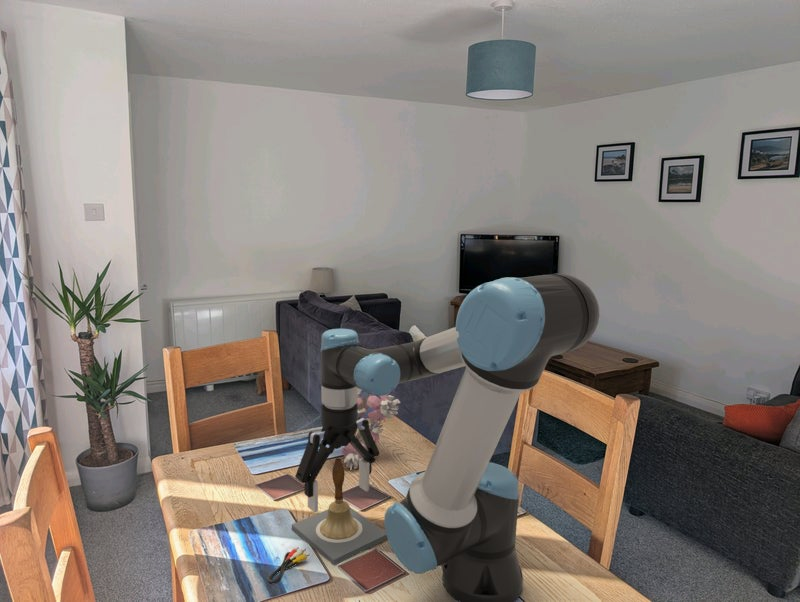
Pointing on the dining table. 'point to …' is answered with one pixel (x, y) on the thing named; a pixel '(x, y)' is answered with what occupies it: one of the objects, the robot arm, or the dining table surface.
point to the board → (340, 547)
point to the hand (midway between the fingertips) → (339, 498)
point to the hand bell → (338, 510)
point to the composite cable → (289, 563)
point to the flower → (382, 411)
